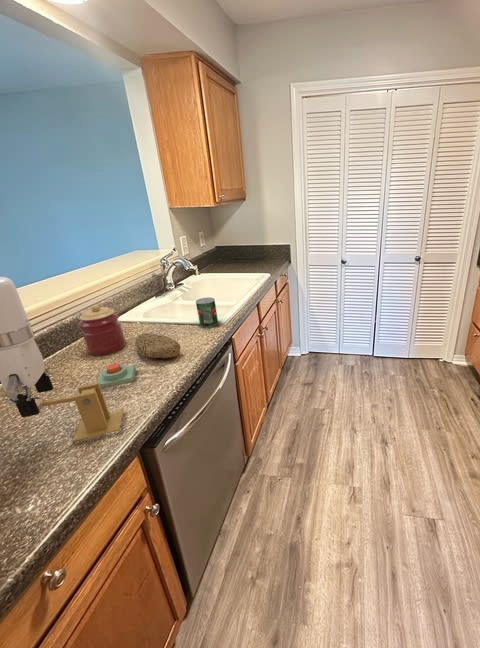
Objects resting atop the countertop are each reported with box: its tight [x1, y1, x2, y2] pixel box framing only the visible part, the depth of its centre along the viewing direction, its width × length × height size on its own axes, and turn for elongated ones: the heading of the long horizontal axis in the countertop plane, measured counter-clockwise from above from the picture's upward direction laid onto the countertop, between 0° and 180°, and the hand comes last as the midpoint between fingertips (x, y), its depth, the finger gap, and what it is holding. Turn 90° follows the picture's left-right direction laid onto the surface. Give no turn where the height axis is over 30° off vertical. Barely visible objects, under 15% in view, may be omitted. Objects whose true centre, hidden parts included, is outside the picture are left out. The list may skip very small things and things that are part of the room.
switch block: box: [96, 364, 137, 389], centre depth 102 cm, size 10×8×4 cm
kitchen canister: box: [78, 304, 126, 356], centre depth 121 cm, size 13×13×18 cm
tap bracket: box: [72, 381, 124, 442], centre depth 80 cm, size 10×8×12 cm
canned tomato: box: [195, 297, 219, 328], centre depth 140 cm, size 8×8×11 cm
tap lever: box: [33, 388, 96, 412], centre depth 77 cm, size 14×4×4 cm, turn 111°
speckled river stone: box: [134, 332, 182, 359], centre depth 117 cm, size 13×8×20 cm
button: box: [106, 362, 121, 374], centre depth 101 cm, size 4×4×2 cm
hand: (39, 402), depth 75 cm, fingers open, 9 cm apart
